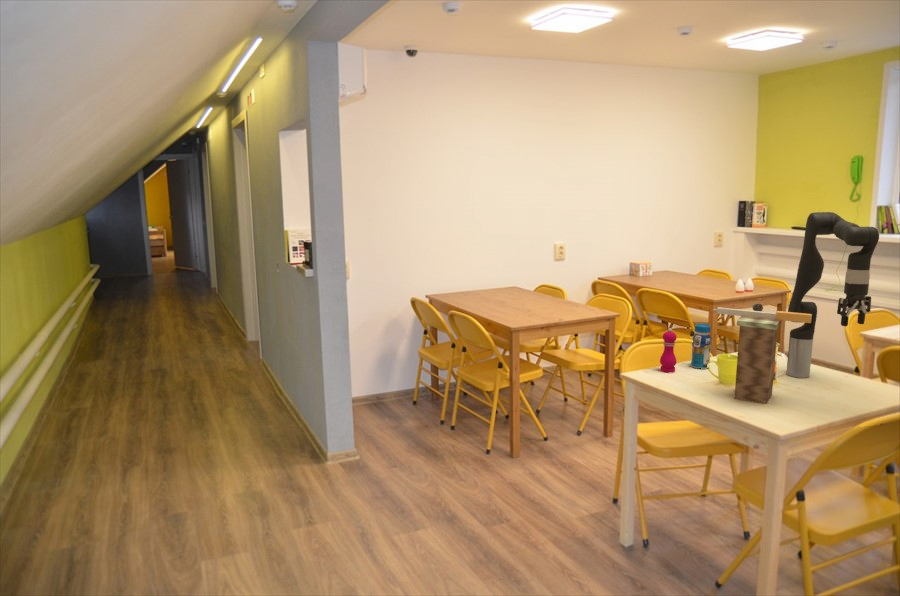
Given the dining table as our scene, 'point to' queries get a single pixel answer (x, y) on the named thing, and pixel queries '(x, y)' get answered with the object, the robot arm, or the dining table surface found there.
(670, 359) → the pepper mill
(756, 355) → the brown zigzag canister
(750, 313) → the knife
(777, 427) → the dining table surface
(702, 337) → the blue snack canister
